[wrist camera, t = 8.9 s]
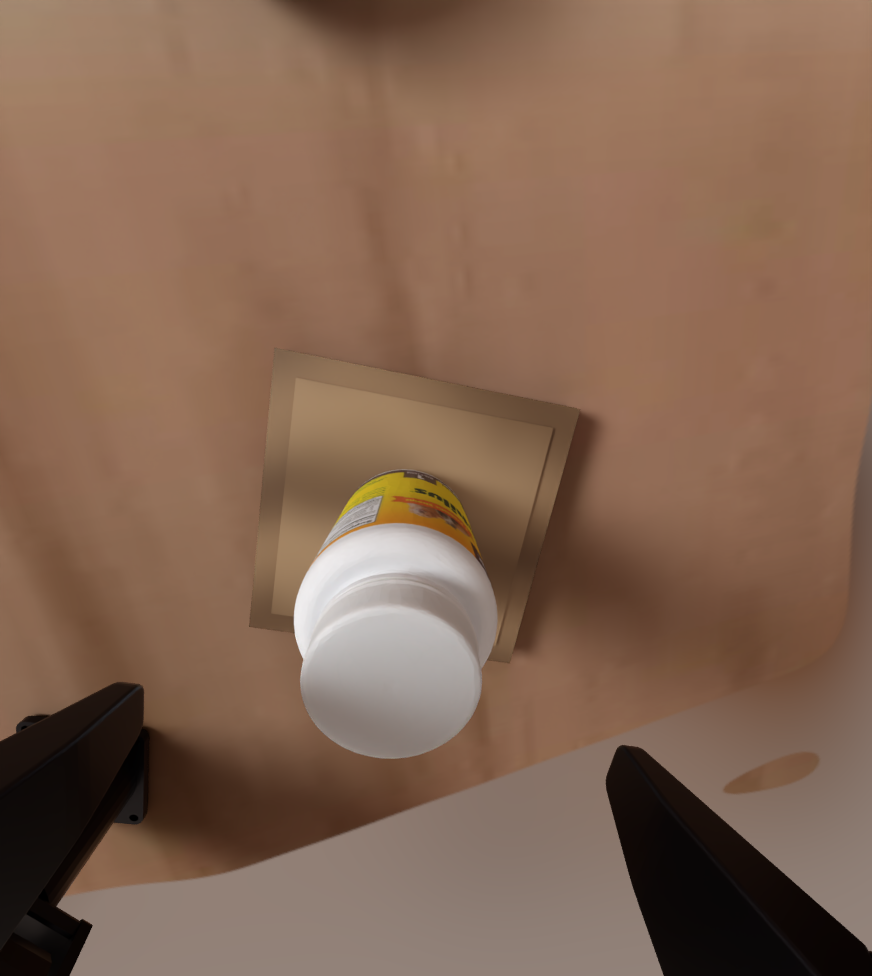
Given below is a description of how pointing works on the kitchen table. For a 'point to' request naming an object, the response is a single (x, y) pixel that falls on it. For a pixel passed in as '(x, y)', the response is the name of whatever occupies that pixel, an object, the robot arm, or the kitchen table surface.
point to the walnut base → (403, 445)
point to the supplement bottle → (395, 619)
